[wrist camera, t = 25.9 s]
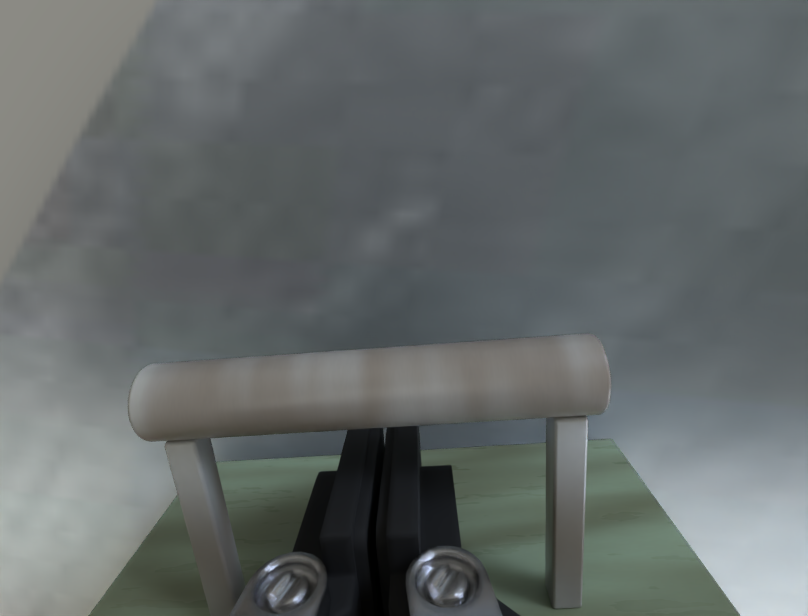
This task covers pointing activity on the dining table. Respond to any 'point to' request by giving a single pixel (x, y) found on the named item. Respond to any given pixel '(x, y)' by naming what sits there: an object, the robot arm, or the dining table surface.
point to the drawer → (472, 466)
